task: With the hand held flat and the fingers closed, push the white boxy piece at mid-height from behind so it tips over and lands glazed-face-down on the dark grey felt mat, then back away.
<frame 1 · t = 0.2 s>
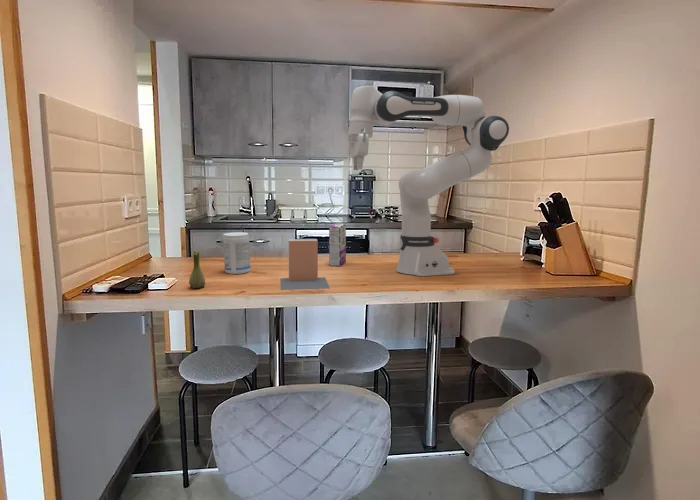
hand: (357, 169, 168), 39 cm above the breakfast bar, tool pointing down, fingers open, 8 cm apart
felt mat: (304, 284, 156), on the breakfast bar
fennel bulb: (197, 288, 150), on the breakfast bar
candy bar box: (337, 264, 192), on the breakfast bar
white boxy piece: (303, 279, 162), resting on felt mat
supplement tub: (237, 272, 174), on the breakfast bar
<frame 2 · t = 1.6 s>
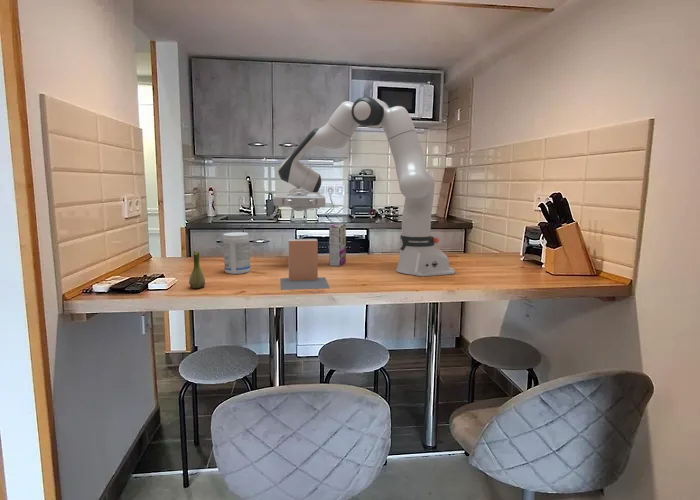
hand: (300, 202, 172), 26 cm above the breakfast bar, tool horizontal, fingers open, 7 cm apart
nothing on the breakfast bar moved.
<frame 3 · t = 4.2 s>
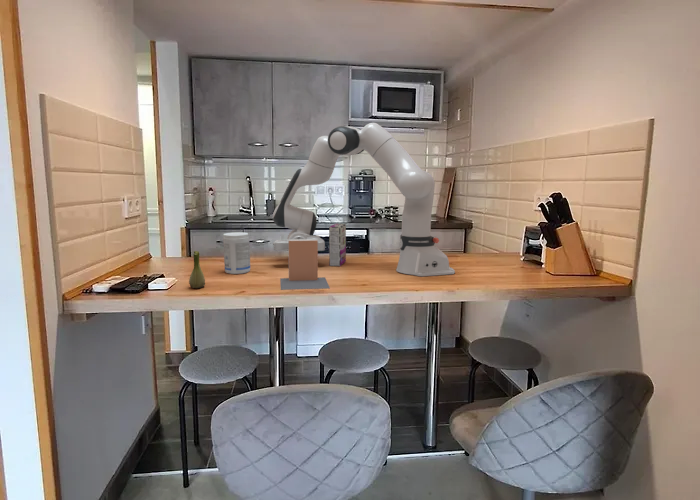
hand: (300, 248, 175), 9 cm above the breakfast bar, tool horizontal, fingers closed
nothing on the breakfast bar moved.
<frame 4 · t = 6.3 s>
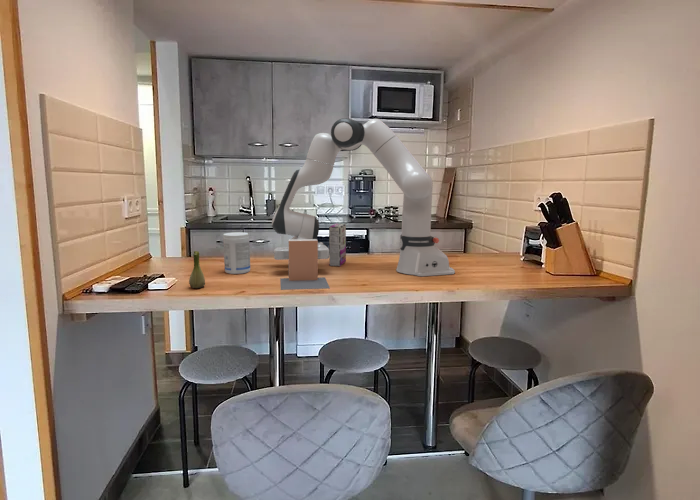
hand: (302, 256, 162), 8 cm above the breakfast bar, tool horizontal, fingers closed, pressing on white boxy piece
white boxy piece: (303, 279, 162), resting on felt mat, touching gripper
everything else where it was.
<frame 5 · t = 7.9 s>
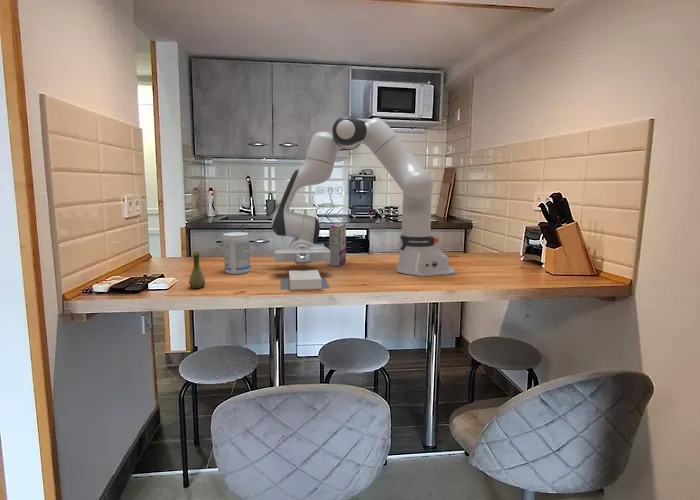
hand: (303, 259, 158), 8 cm above the breakfast bar, tool horizontal, fingers closed
white boxy piece: (303, 275, 160), point 2 cm above the breakfast bar, tilted 90°, touching felt mat
everything else where it was.
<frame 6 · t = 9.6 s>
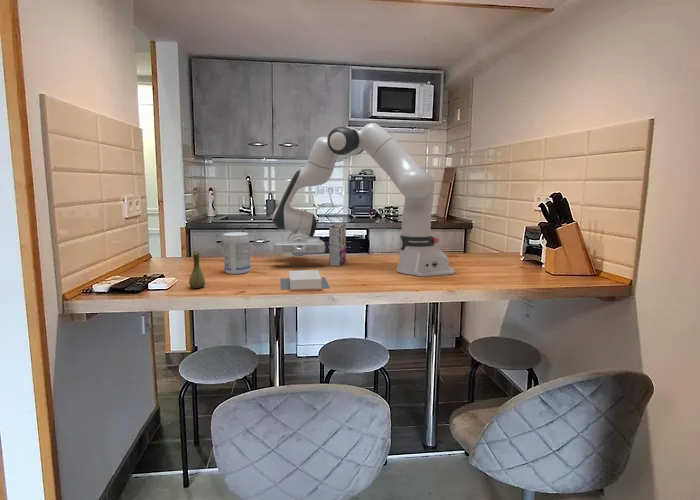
hand: (300, 250, 174), 8 cm above the breakfast bar, tool horizontal, fingers closed
nothing on the breakfast bar moved.
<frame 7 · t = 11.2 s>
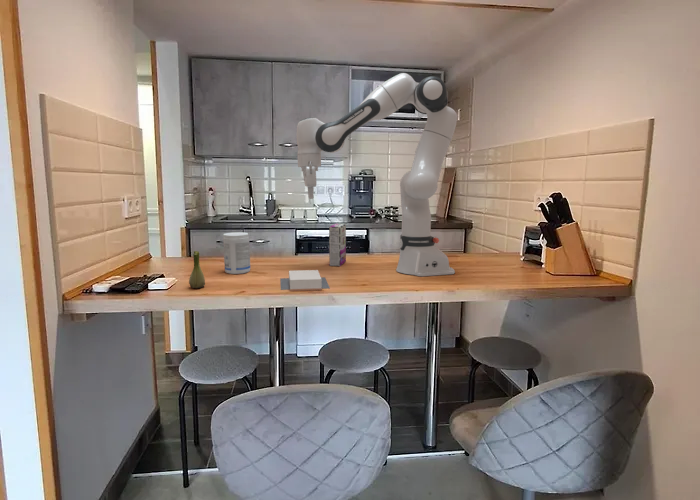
hand: (311, 198, 176), 28 cm above the breakfast bar, tool pointing down, fingers closed
nothing on the breakfast bar moved.
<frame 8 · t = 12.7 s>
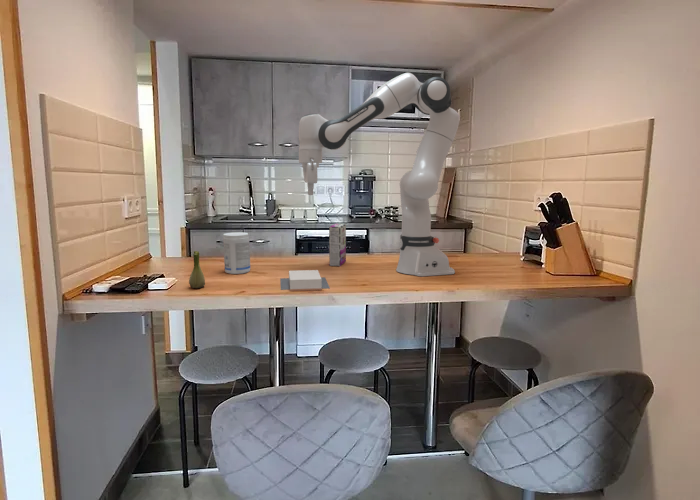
hand: (310, 195, 175), 29 cm above the breakfast bar, tool pointing down, fingers closed
nothing on the breakfast bar moved.
at the end: white boxy piece tilted 90°; white boxy piece touching felt mat; white boxy piece inside the target area (6.0 cm from its centre), point 2.1 cm above the breakfast bar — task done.
